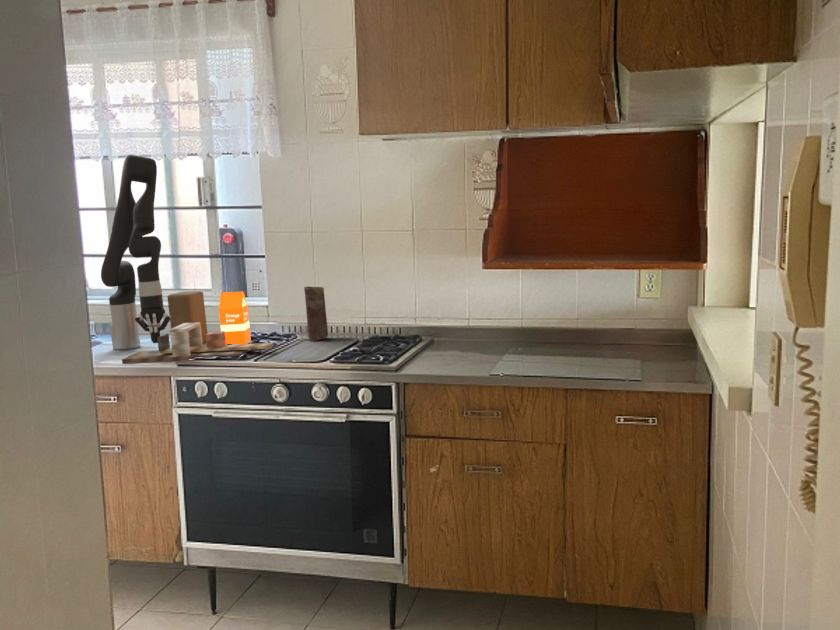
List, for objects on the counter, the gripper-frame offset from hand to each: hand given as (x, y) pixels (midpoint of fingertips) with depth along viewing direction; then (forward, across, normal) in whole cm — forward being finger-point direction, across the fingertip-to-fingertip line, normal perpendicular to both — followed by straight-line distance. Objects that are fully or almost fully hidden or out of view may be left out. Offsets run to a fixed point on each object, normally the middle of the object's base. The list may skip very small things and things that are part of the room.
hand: (156, 342), depth 281 cm
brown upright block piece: (+6, +53, +22) cm, 58 cm away
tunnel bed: (+6, +11, 0) cm, 12 cm away
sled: (+4, +21, 0) cm, 22 cm away
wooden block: (+6, +3, +24) cm, 25 cm away
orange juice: (+6, +23, +18) cm, 30 cm away
